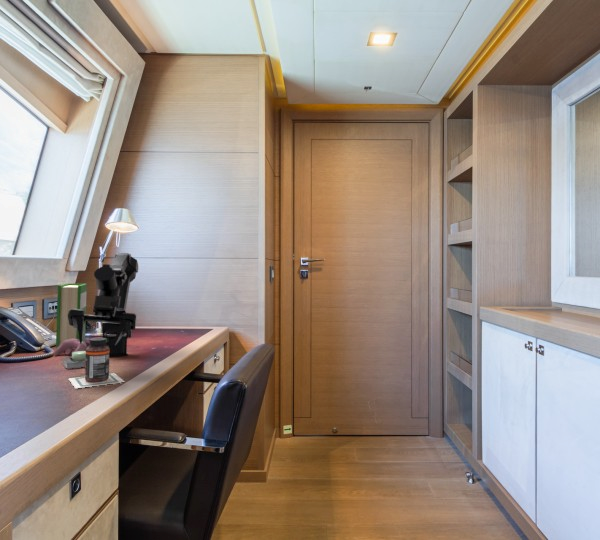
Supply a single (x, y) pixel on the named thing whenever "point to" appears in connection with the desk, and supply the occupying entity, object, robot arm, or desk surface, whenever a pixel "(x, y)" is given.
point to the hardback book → (67, 300)
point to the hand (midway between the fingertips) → (97, 343)
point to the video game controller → (70, 347)
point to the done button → (78, 356)
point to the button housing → (72, 363)
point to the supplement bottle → (97, 360)
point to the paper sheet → (82, 383)
